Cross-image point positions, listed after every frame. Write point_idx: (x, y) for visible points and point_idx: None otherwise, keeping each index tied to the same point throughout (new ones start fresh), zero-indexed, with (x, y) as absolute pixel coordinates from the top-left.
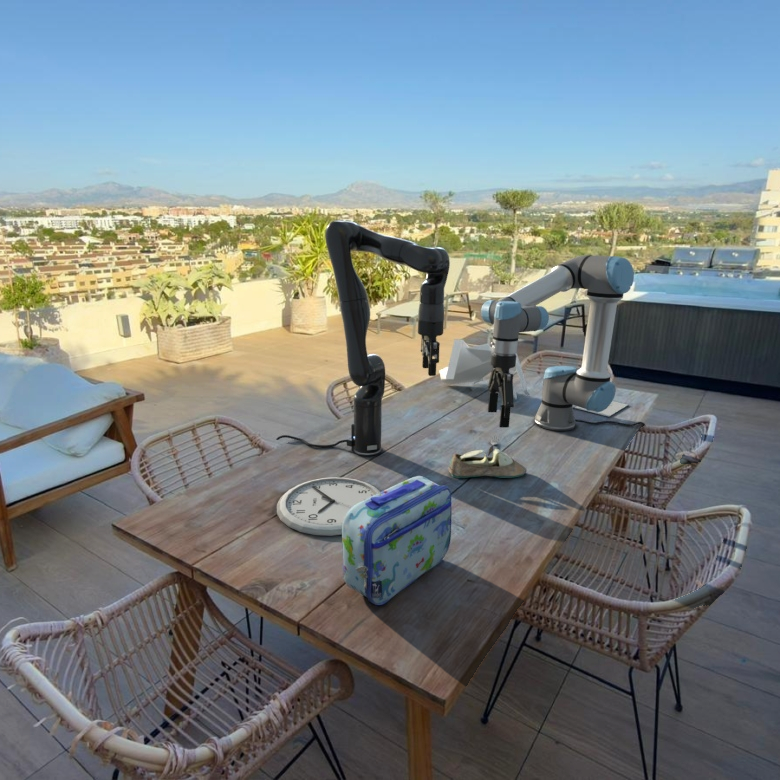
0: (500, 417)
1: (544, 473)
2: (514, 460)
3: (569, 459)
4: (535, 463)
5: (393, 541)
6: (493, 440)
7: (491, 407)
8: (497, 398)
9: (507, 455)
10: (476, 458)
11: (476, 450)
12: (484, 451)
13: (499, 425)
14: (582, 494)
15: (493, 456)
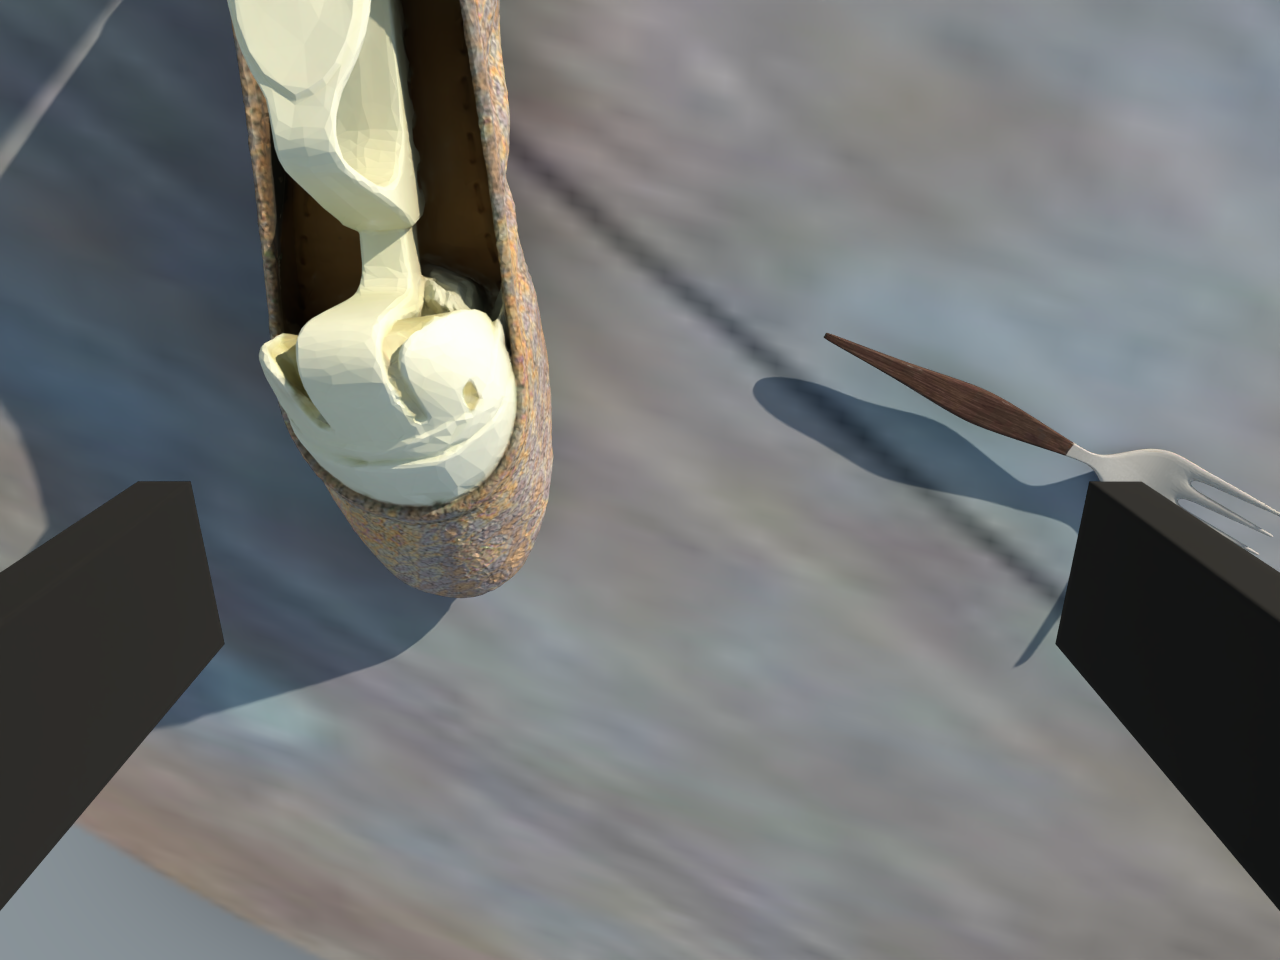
0: (28, 583)
1: (472, 714)
2: (437, 527)
3: (717, 948)
4: (660, 707)
5: None
6: (1190, 489)
7: (1143, 591)
8: (1272, 889)
9: (395, 469)
10: (477, 99)
11: (346, 50)
12: (301, 164)
13: (174, 491)
14: (150, 840)
15: (391, 302)
